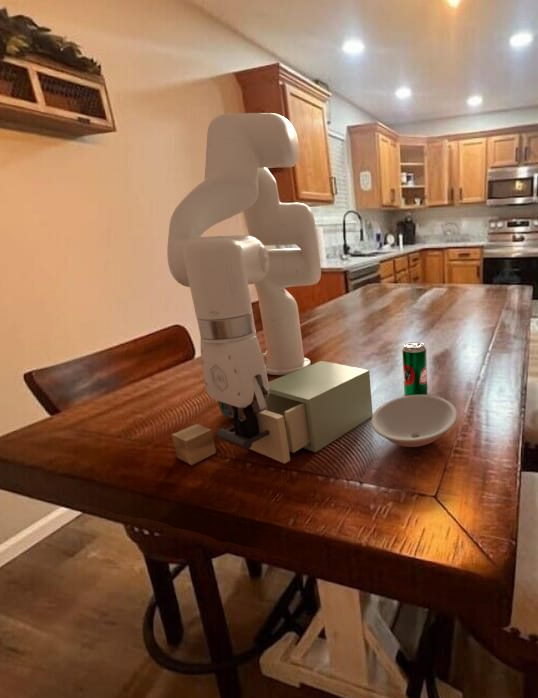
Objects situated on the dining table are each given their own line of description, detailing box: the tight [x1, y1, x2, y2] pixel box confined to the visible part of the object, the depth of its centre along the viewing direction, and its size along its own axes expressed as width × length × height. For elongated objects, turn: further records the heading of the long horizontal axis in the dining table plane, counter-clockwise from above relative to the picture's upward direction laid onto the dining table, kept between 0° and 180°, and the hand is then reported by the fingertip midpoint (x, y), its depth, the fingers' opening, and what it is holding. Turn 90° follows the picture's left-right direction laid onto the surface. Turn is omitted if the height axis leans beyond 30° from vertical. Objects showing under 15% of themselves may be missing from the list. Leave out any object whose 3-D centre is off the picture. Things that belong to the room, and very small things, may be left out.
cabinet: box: [268, 360, 374, 453], centre depth 77 cm, size 16×13×10 cm
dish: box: [371, 394, 458, 448], centre depth 70 cm, size 18×14×5 cm
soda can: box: [401, 341, 428, 396], centre depth 87 cm, size 5×5×12 cm
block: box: [171, 423, 217, 466], centre depth 69 cm, size 4×4×4 cm
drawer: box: [215, 393, 311, 465], centre depth 70 cm, size 20×12×8 cm, turn 146°
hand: (248, 438), depth 65 cm, fingers closed
